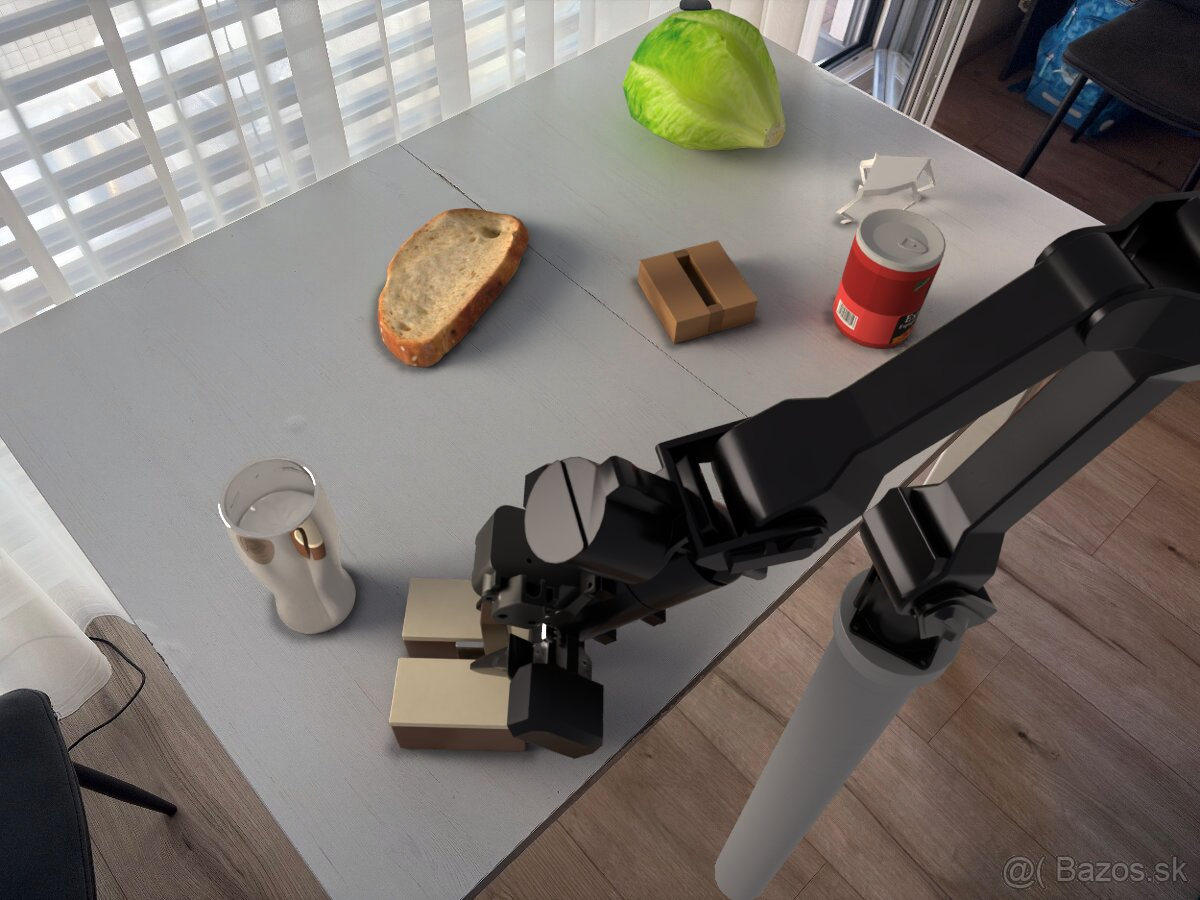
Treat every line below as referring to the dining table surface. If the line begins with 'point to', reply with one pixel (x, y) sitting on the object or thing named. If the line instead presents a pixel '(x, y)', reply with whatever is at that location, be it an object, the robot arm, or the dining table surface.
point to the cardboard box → (696, 291)
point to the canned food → (887, 277)
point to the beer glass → (289, 540)
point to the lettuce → (706, 83)
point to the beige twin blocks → (448, 675)
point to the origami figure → (891, 178)
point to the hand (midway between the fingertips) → (477, 638)
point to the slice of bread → (447, 281)
